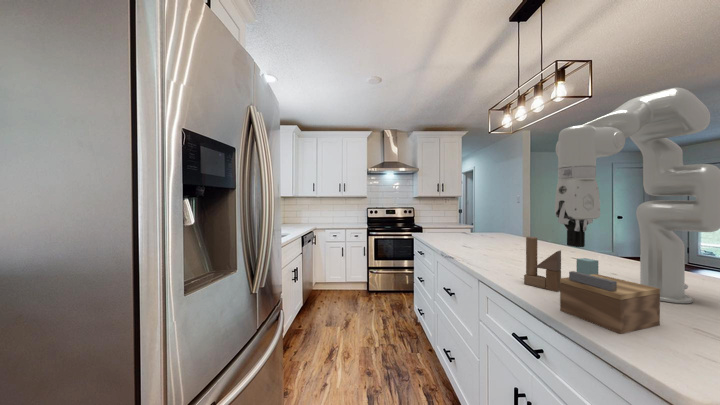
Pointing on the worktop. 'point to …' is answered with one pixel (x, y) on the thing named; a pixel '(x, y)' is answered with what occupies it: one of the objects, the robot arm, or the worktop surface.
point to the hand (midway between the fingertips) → (575, 246)
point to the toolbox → (611, 309)
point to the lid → (608, 286)
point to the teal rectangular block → (587, 266)
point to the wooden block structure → (550, 264)
